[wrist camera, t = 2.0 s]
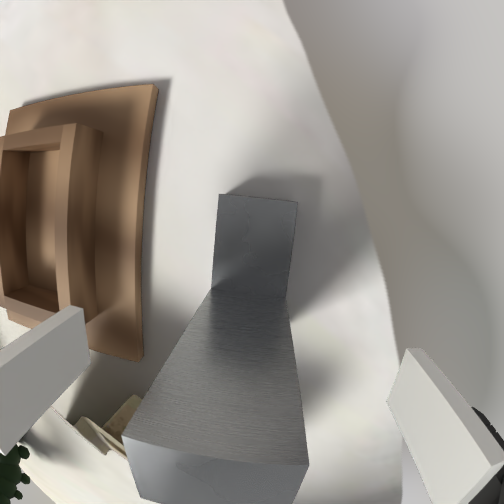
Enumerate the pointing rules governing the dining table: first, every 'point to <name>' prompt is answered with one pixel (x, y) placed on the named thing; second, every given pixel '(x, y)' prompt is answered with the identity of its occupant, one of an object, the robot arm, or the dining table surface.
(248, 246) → the bracket
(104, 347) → the brown wooden flat frame
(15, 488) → the toy figurine
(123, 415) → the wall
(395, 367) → the dining table surface
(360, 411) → the dining table surface
